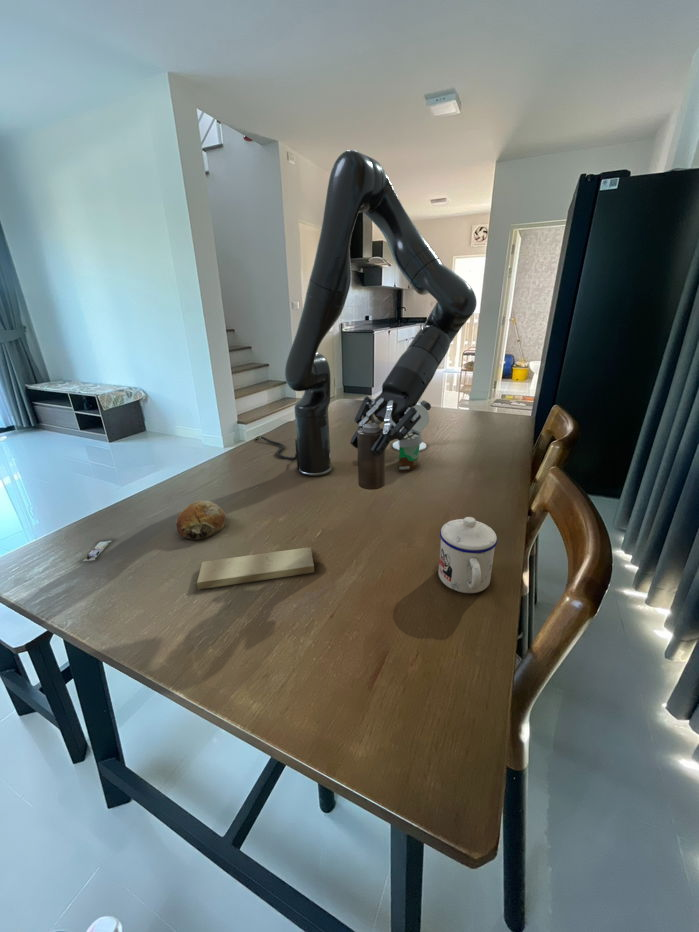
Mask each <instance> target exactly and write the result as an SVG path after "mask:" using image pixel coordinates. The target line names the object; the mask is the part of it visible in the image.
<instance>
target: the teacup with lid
mask: <svg viewBox="0 0 699 932" xmlns="http://www.w3.org/2000/svg"><path fill="white" fill-rule="evenodd" d="M439 537H440V548H439V560H438V577H439V580H440V581H441V582H442V583H443V584H444V585H445V586H446V587H447V588H449V589H451V590H453V591H456V592H458V593H462V594H476V593H480V592H482V591H483V592H484V591H485V590H486V589H487V588H488V587H489V586H490V583H491V577H492V569H493V564H494V563H493V562H494V555H495V549H496V547H497V544H498V537H497V534H496V532H495V531H494V530H493V528H491V527H490V526H489V525H487V524H485V523H484V522H481V521H479V520H478V521H477V519H476V518H475V517H472V516H466V517H464V518H458V519H452V520H450V521H448V522H445V523H444V524H443V526H442V527H441V529H440V531H439Z"/></svg>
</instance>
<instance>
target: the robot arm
mask: <svg viewBox="0 0 699 932" xmlns="http://www.w3.org/2000/svg"><path fill="white" fill-rule="evenodd" d="M359 213H360V214H364V215H365V217H367V218H368V219H369V220H370V221H371V222H372V223H373V224H374V225H375V226H376V227H377V228H378V229H379V231H380V232H381V234H382V235H383V237H384V240H385V242H386V243H387V246H388V248H389V251H390V254H391V256H392V258H393V261H394V263H395V265H396V266H397V268H398V269H399V271H400V273H401V274H402V275H403V277H404V278H405V279H406V280H407V282H408V284H410V286H411V287H412V289H413V290H414V291H415V293H417V294H418V295H420V296H426V295H430V296H432V297H433V298H434V299H435V300H436V303H435V305H434V307H433V308H432V310H431V311H430V313H429V315H428V317H427V318H426V320H425V322H424V324H423V325H422V327H421V328H420V329H419V330H418V331H417V333H416V334H415V335H414V337H413V339H412V340H411V342H410V343H409V344H408V347H407V348H406V349H405V350H404V351H403V353H402V354H401V355H400V357H399V358H398V359H397V361H396V363H394V366H393V367H392V368H391V371H390V372H389V373H388V375H387V376H386V378H385V380H384V381H383V383H382V384H381V392H380V394H379V395H378V396H376V398H371V397H369V396H364V397H363V400H362V402H361V404H360V406H359V409H358V411H357V413H356V415H355V416H354V422H355V423H356V424H357V425H358V427H357V429H356V431H355V432H354V434H353V436H352V437H351V439H350V445H351V446H352V447H354V448H355V449H358V443H357V431H358V430H359V429H360V428H363V425H364V424H368V423H375V424H379V425H380V426H381V424H382V423H384V424H383V425H384V426H383V428H382V429H383V434H380V435H379V437H378V439H377V440H376V442H375V443H374V445H373V446H372V448H371V452H372V453H373V454H374V455H375V456H377V457H379V456H380V455H381V454H382V453H383V452H384V451H385V452H386V449H387V447H388V446H389V444H390V443H391V442H393V441H395V440H397V441H398V440H402V439H403V438H404V437H405V436H406V435H407V433H408V432H409V431H410V430H411V429H412V428H413V426H414V425H415V424H416V423H417V422H418V421H419V420H420V418H421V415H420V414H419V413H418V411H417V410H416V409H415V408H414V406H415V405H416V404H417V403H419V401H420V398H422V396H423V394H424V393H425V391H426V389H427V388H428V386H429V385H430V384H431V382H432V380H433V378H434V376H435V374H436V372H437V370H438V368H439V366H440V365H441V363H442V361H443V360H444V358H445V357H446V355H447V354H448V351H449V349H450V346H451V343H452V342H453V340H454V339H455V338H456V336H457V334H458V333H459V332H460V330H461V329H462V328H463V326H464V325H465V324H466V323H467V322H468V320H469V319H470V318H471V317H472V315H473V314H474V313H475V311H476V308H477V296H476V294H475V292H474V290H473V288H472V287H471V285H470V284H469V283H468V282H467V281H466V280H465V279H463V278H462V277H461V276H460V275H458V274H457V273H456V272H454V271H453V270H452V269H451V268H449V267H448V266H446V265H445V264H444V263H443V262H442V260H441V259H440V257H439V255H437V253H436V252H435V250H434V249H433V248H432V246H431V245H430V244H429V242H428V241H427V240H426V238H425V237H424V236H423V235H422V233H421V232H420V230H419V229H418V228H417V226H416V225H415V223H414V222H413V220H412V219H411V217H410V216H409V214H408V213H407V211H406V209H405V207H404V206H403V204H402V202H401V200H400V198H399V196H398V194H397V192H396V191H395V189H394V186H393V185H392V182H391V181H390V178H389V177H388V175H387V173H386V171H385V169H384V167H383V166H382V164H381V163H380V162H379V161H378V160H376V159H374V158H373V157H370V156H368V155H366V154H365V153H362V152H360V151H357V150H354V149H348V150H345V151H343V152H342V153H341V154H339V156H338V157H337V158H336V160H335V162H334V163H333V166H332V168H331V171H330V175H329V179H328V183H327V189H326V195H325V204H324V210H323V217H322V224H321V229H320V234H319V239H318V242H317V248H316V253H315V257H314V261H313V266H312V269H311V273H310V277H309V280H308V285H307V289H306V293H305V298H304V303H303V308H302V311H301V314H300V318H299V322H298V326H297V329H296V332H295V336H294V338H293V342H292V344H291V348H290V349H289V353H288V355H287V359H286V362H285V366H284V378H285V382H286V384H287V386H288V387H289V388H290V389H291V390H293V391H294V392H303V394H302V396H301V398H300V399H299V400H298V401H297V402H295V404H294V407H293V408H294V417H295V418H294V419H295V429H296V439H294V445H295V454H294V456H285V455H282V454H279V453H280V452H281V451H283V450H284V449H285V445H284V444H283V443H281V442H278V441H274V440H271V439H268V438H266V437H265V436H262V437H261V438H258V437H260V436H261V435H259V436H255V439H254V440H255V441H257V440H259V439H262V440H264V441H266V442H268V443H271V444H273V445H277V446H280V448H279V449H277V451H276V452H275V455H276V456H277V457H278V458H281V459H283V460H296V466H297V467H296V469H297V470H298V471H299V473H300V474H301V475H303V476H305V477H321V476H325V475H327V474H329V473H331V471H332V461H331V459H332V451H331V441H330V421H329V419H330V418H329V406H330V403H331V393H332V392H331V387H332V385H331V384H332V383H331V368H330V365H329V364H330V363H329V361H328V359H327V358H326V356H325V355H323V354H322V353H320V352H318V351H319V348H320V345H321V343H322V341H323V340H324V338H325V337H326V336H327V334H328V333H329V332H330V330H331V329H332V328H333V326H334V325H335V324H336V323H337V321H338V320H339V318H340V317H341V315H342V313H343V310H344V308H345V305H346V301H347V298H348V295H349V292H350V288H351V283H352V264H351V241H352V236H353V231H354V228H355V224H356V221H357V218H358V215H359ZM374 416H375V417H374ZM403 426H404V428H403V429H402V427H403ZM401 429H402V430H401ZM400 430H401V432H400ZM256 438H258V439H256Z"/></svg>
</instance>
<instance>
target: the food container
mask: <svg viewBox="0 0 699 932" xmlns="http://www.w3.org/2000/svg"><path fill="white" fill-rule="evenodd" d="M422 436H423V435H422V432H421V433H420V432H419V431H417V430H414V429H411V430H410V431H409V432H408V433H407V435H406V436H405V437H404V438H403V439H402V440H400V442H399V450H398V453H399V454H398V472H399V473H405V472H411V471H414V470H416V469H417V468H418V462H419V454H420V451H419V447H420V444H421V443H422V442H423V437H422Z"/></svg>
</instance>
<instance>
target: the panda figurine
mask: <svg viewBox="0 0 699 932" xmlns="http://www.w3.org/2000/svg"><path fill="white" fill-rule="evenodd" d="M414 408H415V409H416V410H417V411H418V413H419V414H420V415H421V418H420V420H419V421H418V422H417V423H416V424H415V425H414V426H413V428H412V429H414V430H417V431H419V432H420V433H421V434H422V431H423V430H424V429H426V427H427V426H428V424H429V422H430V414H429V411H430V410H431V408H432V404H431V403H429V402H428V401H426V400H422V401H421V402H420V403H419V402H417V404H416V405H415V406H414ZM403 428H404V426H403V427H402V429H403ZM402 429H401V430H402ZM401 430H400V432H401ZM399 442H400V440H398V439H397V440H396V441H394V442H393V443H392V448H393V449H395V450H397V451H399ZM426 448H427V443H425V442H423V441H422V443H421V444H420V447H419V452H420V451H424V450H425V449H426Z"/></svg>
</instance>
